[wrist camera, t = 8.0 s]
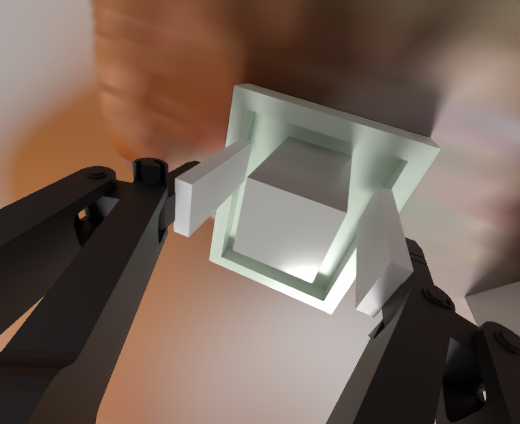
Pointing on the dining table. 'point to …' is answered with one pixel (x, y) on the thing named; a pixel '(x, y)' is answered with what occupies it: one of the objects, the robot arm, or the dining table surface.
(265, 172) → the stone
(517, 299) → the stone
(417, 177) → the bin
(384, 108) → the dining table surface
